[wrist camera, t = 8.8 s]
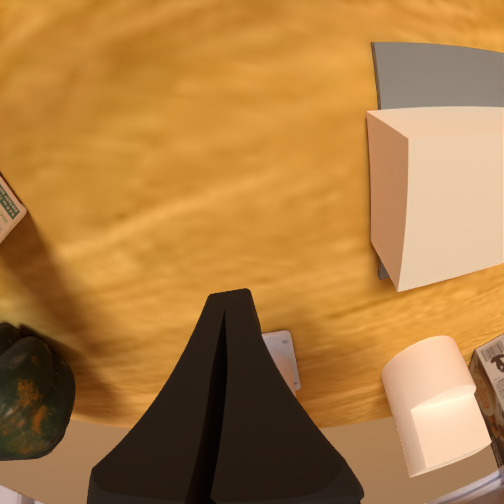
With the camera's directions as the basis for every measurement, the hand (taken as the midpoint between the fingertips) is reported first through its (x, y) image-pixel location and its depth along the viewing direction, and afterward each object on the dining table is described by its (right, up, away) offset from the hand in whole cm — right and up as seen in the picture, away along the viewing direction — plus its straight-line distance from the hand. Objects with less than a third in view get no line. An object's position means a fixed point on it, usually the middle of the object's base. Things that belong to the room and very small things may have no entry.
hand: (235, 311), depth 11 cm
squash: (-23, -8, +15) cm, 29 cm away
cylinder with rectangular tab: (+18, -10, +18) cm, 28 cm away
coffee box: (+31, -11, +20) cm, 39 cm away
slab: (+7, +4, +4) cm, 9 cm away
